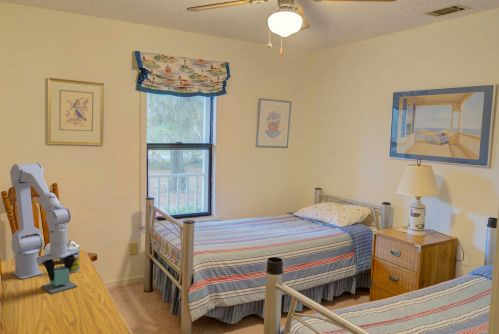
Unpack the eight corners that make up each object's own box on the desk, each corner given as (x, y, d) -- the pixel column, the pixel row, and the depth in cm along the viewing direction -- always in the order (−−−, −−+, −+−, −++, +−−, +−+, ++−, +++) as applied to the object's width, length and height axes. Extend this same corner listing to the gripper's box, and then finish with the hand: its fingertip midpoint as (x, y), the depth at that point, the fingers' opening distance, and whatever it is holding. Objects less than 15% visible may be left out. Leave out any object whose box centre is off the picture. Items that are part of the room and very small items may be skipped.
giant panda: (41, 265, 167) (41, 243, 166) (45, 261, 172) (44, 239, 171) (79, 263, 171) (78, 241, 170) (81, 259, 176) (80, 238, 175)
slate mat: (41, 287, 144) (41, 285, 144) (66, 280, 151) (66, 278, 151) (51, 294, 138) (51, 292, 138) (77, 287, 145) (77, 285, 145)
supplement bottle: (78, 267, 165) (78, 245, 164) (81, 271, 161) (81, 248, 160) (64, 269, 162) (64, 247, 161) (66, 274, 158) (66, 250, 157)
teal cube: (49, 282, 144) (49, 269, 144) (63, 278, 148) (63, 265, 148) (55, 286, 141) (55, 272, 141) (69, 282, 145) (69, 269, 144)
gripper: (42, 248, 135) (42, 286, 136) (83, 240, 146) (83, 275, 147) (34, 243, 140) (34, 281, 141) (74, 236, 151) (75, 270, 152)
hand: (59, 278), depth 144 cm, fingers closed on teal cube, 5 cm apart
